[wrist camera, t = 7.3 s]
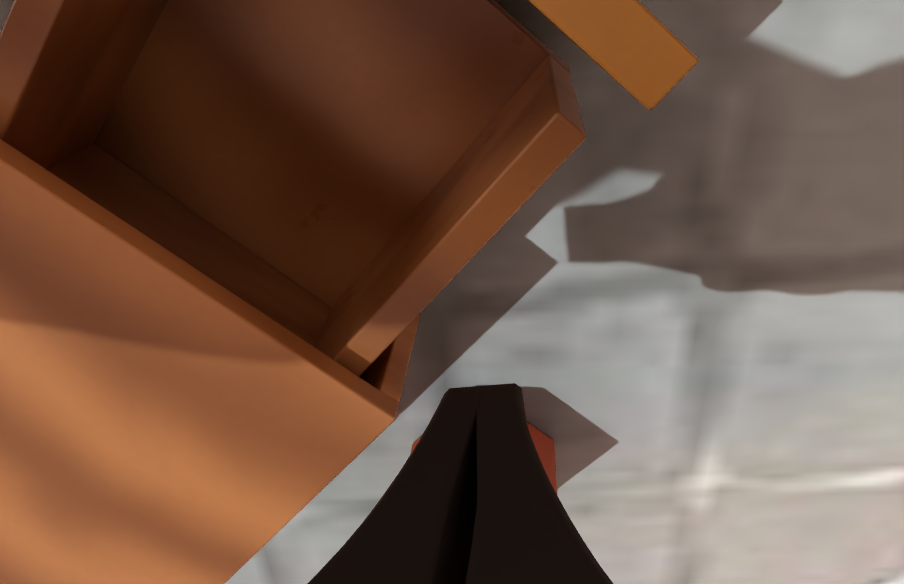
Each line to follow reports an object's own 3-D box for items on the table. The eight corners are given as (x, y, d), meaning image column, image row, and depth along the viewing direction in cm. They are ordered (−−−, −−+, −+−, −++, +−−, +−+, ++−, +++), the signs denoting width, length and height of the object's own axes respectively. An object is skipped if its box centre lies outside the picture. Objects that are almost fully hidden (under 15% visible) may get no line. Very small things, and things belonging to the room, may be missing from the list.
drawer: (445, -660, 12) (386, -1100, 7) (831, -200, 15) (1007, -250, 10) (62, 124, 21) (-103, 209, 15) (357, 327, 24) (307, 460, 18)
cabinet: (103, 14, 20) (-120, 81, 13) (433, 260, 23) (396, 419, 16) (-44, 321, 26) (-246, 476, 19) (231, 481, 29) (142, 662, 22)
